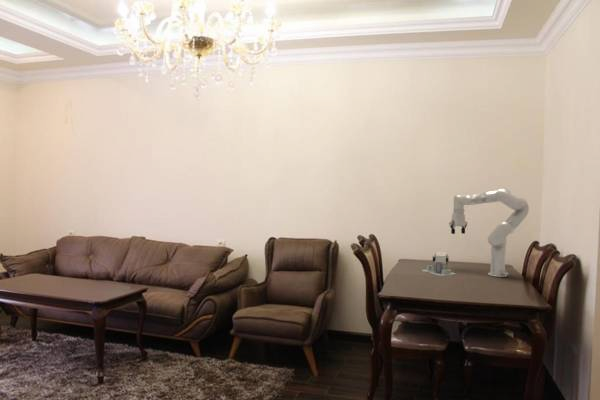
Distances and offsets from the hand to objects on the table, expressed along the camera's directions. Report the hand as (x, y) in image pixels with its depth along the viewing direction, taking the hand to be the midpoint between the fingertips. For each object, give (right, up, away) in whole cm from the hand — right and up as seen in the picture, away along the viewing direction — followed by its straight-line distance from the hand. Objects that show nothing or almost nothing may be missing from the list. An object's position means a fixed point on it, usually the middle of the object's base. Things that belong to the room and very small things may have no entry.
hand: (458, 233), depth 353 cm
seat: (-18, -28, -11) cm, 35 cm away
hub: (-18, -27, -11) cm, 34 cm away
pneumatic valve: (-12, -28, +7) cm, 31 cm away
